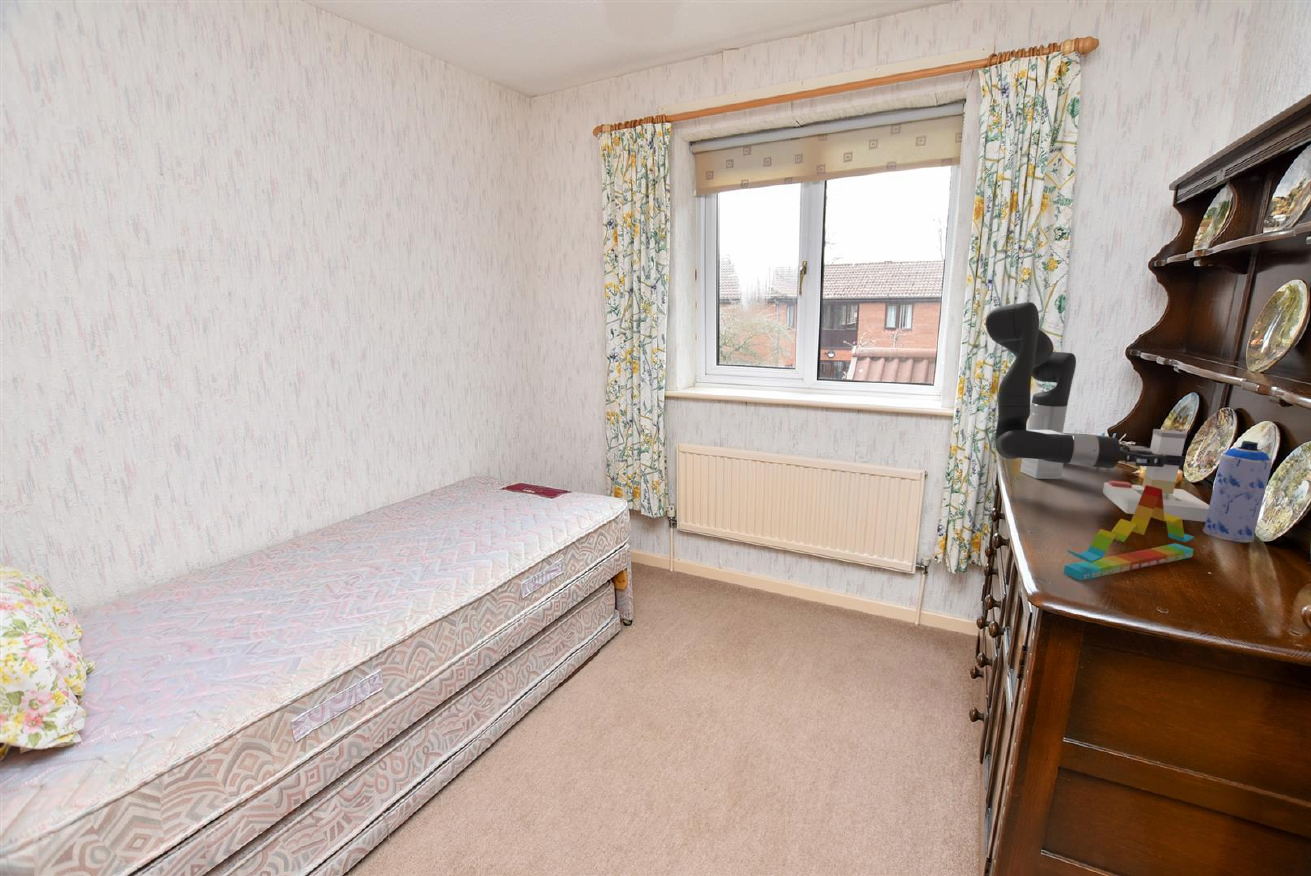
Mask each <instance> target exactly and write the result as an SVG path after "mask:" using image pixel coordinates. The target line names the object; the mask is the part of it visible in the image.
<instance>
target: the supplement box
mask: <svg viewBox="0 0 1311 876" xmlns="http://www.w3.org/2000/svg"><path fill="white" fill-rule="evenodd" d="M1026 430H1027V431H1034V432H1040V433H1045V434H1062V435H1067V434H1065V433H1064V432H1063V433H1059V432H1056V431H1053V430H1028V429H1026ZM1063 469H1064V463H1057V462H1049V461H1045V460H1043V459H1030V458H1021V464H1020V471H1019V472H1020V473H1022V474H1024V475H1027V476H1029V477H1031V478H1034V479H1035V480H1036V479H1037V480H1038V479H1040V480H1043V479H1044V480H1061V479H1062V474H1063Z"/></svg>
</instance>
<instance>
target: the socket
mask: <svg viewBox="0 0 1311 876" xmlns="http://www.w3.org/2000/svg"><path fill="white" fill-rule="evenodd" d="M1143 491H1144V487H1142V484H1141V485H1139V484H1131V483H1130V482H1129V481H1119V480H1108V482H1107V481H1104V483H1103V490H1102V494H1103V495H1104V496H1105V497H1106V498H1108V499H1109V500H1110V501H1111V502H1112V503H1113V504H1114V505H1116V506H1117V507H1118V508H1119V509H1120V510H1122V511H1123V512H1124V513H1126V514H1127V515H1128V514H1130V515H1134V513H1135V510H1136V508H1137V505H1138V503H1139V501H1140V498H1141V496H1142V493H1143ZM1162 495H1163V506H1164V514H1165V513H1166V514H1170V515H1173V516H1177V517H1180V518H1182V521H1183V520H1184V521H1193V522H1194V521H1195V522H1203V523H1206V519H1207V514H1208V510H1209V506H1210V504H1208V503H1206V502H1205V501H1203V500H1201V499H1200V498H1197V496H1195V495H1193V494H1191V493H1190V492H1189V491H1188V492H1187V491H1186V490H1185V489H1183V488H1182V489H1181V488H1174V492H1173V494H1167V493H1162Z"/></svg>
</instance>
